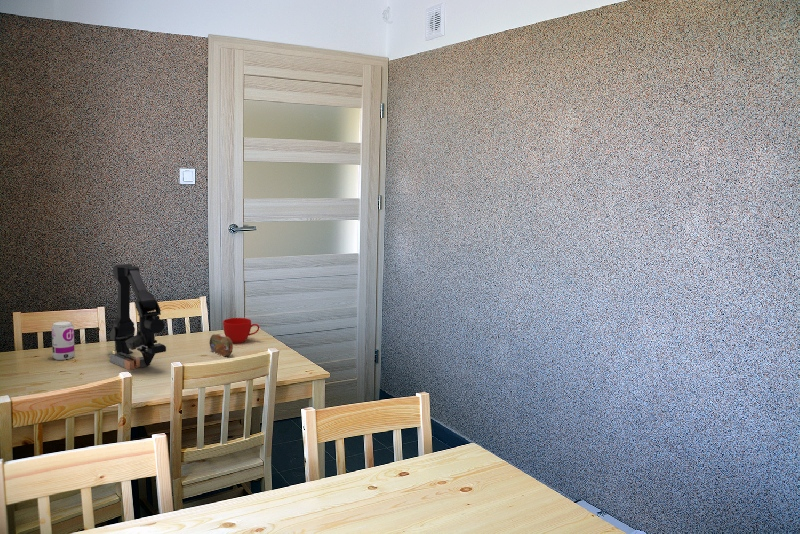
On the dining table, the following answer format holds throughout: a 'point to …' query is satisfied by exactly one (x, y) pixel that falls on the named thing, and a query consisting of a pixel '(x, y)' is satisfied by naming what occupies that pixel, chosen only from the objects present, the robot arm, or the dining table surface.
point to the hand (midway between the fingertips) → (147, 365)
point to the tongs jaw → (136, 360)
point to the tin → (221, 344)
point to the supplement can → (63, 340)
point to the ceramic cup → (238, 329)
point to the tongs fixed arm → (121, 360)
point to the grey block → (142, 362)
